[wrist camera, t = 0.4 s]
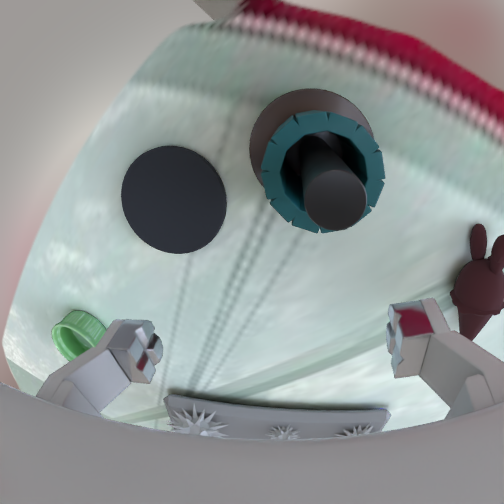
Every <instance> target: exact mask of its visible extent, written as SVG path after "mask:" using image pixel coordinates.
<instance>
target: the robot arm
mask: <svg viewBox="0 0 504 504" xmlns="http://www.w3.org/2000/svg"><path fill="white" fill-rule="evenodd" d="M388 316H389V319H390V322H389V323H388V324H387V328H386V341H387V348H388V352H389V353H390V354H391V355H392V360H391V365H392V369H393V373H394V378H402V377H409V376H416V375H419V376H420V377H421V378H422V379H423V380H424V381H425V382H426V383H427V384H428V385H429V386H430V387H431V388H432V389H433V390H434V391H435V392H436V393H437V394H438V395H439V396H440V397H441V399H442V400H443V401H444V402H445V403H446V404H447V405H448V406H449V407H450V408H451V409H450V411H449V412H448V414H447V416H446V417H445V419H444V420H440V421H436V422H431V423H427V424H422V425H418V426H413V427H408V428H402V429H397V430H391V431H384V432H378V433H370V434H362V435H354V436H344V437H332V438H316V439H284V440H272V439H240V438H224V437H212V436H202V435H193V434H185V433H177V432H171V431H164V430H158V429H152V428H147V427H142V426H137V425H132V424H127V423H122V422H118V421H114V420H110V419H106V418H104V417H103V416H102V415H101V414H100V412H101V411H102V410H103V409H104V408H105V407H106V406H107V405H108V404H109V403H110V402H112V401H113V400H114V399H115V398H116V397H117V396H118V395H119V394H120V393H121V392H122V391H123V390H125V389H126V388H127V387H128V386H129V385H130V384H131V382H135V383H146V384H150V382H151V380H152V378H153V376H154V374H155V371H156V369H155V365H156V364H157V363H159V362H160V360H161V358H162V356H163V345H162V341H161V339H160V337H159V336H157V335H156V334H155V333H154V330H155V327H154V326H153V324H152V322H151V321H149V320H130V319H126V320H124V319H116V320H114V321H113V322H112V323H111V324H110V326H109V327H108V329H107V330H106V332H105V333H104V335H103V336H102V338H101V339H100V341H99V342H98V344H97V345H96V347H92V348H90V349H89V350H87V351H86V352H84V353H83V354H81V355H79V356H78V357H76V358H75V359H73V360H72V361H70V362H69V363H67V364H66V365H64V366H63V367H61V368H60V369H58V370H56V371H55V372H53V373H52V374H50V375H49V377H48V378H47V380H46V381H45V383H44V384H43V386H42V387H41V389H40V390H39V392H38V393H37V395H36V397H35V396H33V395H30V394H28V393H25V392H23V391H20V390H18V389H15V388H12V387H11V386H8V385H6V384H4V383H2V382H0V504H504V362H503V361H501V360H500V359H498V358H497V357H495V356H493V355H492V354H490V353H489V352H487V351H486V350H484V349H483V348H481V347H480V346H478V345H477V344H475V343H474V342H472V341H471V340H469V339H467V338H466V337H464V336H463V335H461V334H460V333H458V332H456V331H455V330H454V331H450V328H449V326H448V324H447V322H446V320H445V318H444V316H443V314H442V312H441V310H440V308H439V306H438V304H437V302H436V300H435V299H434V298H433V297H432V298H426V299H421V300H416V301H410V302H403V303H396V304H390V305H389V309H388Z"/></svg>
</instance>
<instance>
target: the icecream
mask: <svg viewBox="0 0 504 504" xmlns="http://www.w3.org/2000/svg"><path fill="white" fill-rule="evenodd" d="M486 247H487V236H486V230H485V228H484V226H483V225H482V224H476V225H475V226H474V227H473V229H472V233H471V237H470V249H471V255H472V260H473V261H470V262H469V263H468V264H466V265H465V266H464V268H463V269H462V270H461V272H460V274H459V276H458V278H457V280H456V283H455V286H454V289H453V290H451V292H450V295H451V297H452V302H453V304H454V305H455V306H457V308H458V315H459V330H460V334H461V335H463V336H464V337H466V338H467V339H469V340H471V341H473V339H474V338H475V337H476V336H477V334H478V333H479V332H480V331H481V329H482V328H483V327H484V326H485V324H486V323H487V322H488V320H489V319H490V318H491V316H492V315H497V314H500V311H501V310H502V309H503V308H504V273H503V271H502V269H503V268H504V235H501V236H499V237H498V238H497V239H496V240H495V242H494V245H493V247H492V251H491V256H489V257H488V259H486V258H484V257H485V254H486Z"/></svg>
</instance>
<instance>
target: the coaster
mask: <svg viewBox="0 0 504 504" xmlns="http://www.w3.org/2000/svg"><path fill="white" fill-rule="evenodd" d="M121 200H122V207H123V211H124V214H125V216H126V219H127V221H128V223H129V224H130V226H131V228H132V229H133V230H134V232H135V233H136V234H137V235H138V236H139V237H140V238H141V239H142V240H143V241H144V242H146V243H147V244H149V245H150V246H152V247H154V248H156V249H158V250H161V251H164V252H167V253H174V254H183V253H189V252H193V251H196V250H198V249H201V248H202V247H204V246H206V245H207V244H208V243H209V242H211V240H212V239H213V238H214V237H215V236H216V235H217V233H218V232H219V230H220V228H221V226H222V224H223V221H224V218H225V214H226V204H227V202H226V194H225V189H224V186H223V183H222V181H221V179H220V177H219V175H218V173H217V172H216V170H215V169H214V167H213V166H212V165H211V164H210V163H209V162H208V161H207V160H206V159H205V158H203V157H202V156H201V155H199V154H198V153H196V152H194V151H192V150H190V149H187V148H183V147H179V146H161V147H157V148H154V149H151V150H149V151H147V152H145V153H143V154H142V155H140V156H139V157H138V158H137V159H136V160H135V161H134V162H133V163H132V164H131V166H130V167H129V169H128V170H127V172H126V175H125V177H124V180H123V184H122V190H121Z"/></svg>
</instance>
